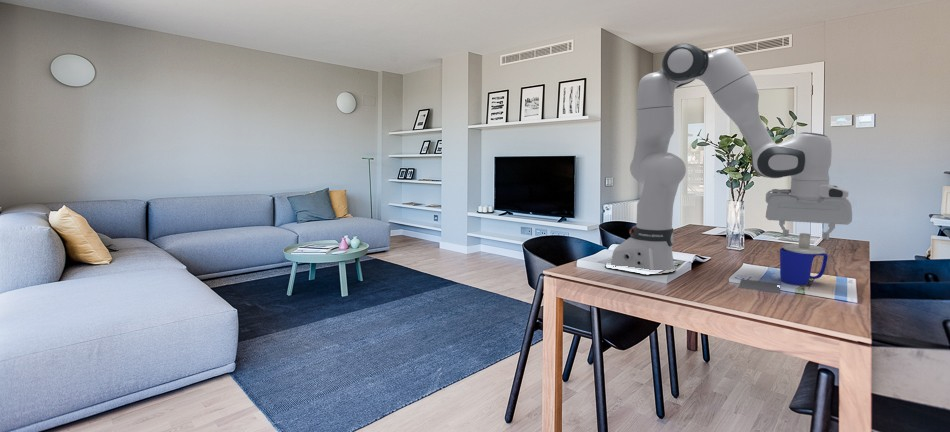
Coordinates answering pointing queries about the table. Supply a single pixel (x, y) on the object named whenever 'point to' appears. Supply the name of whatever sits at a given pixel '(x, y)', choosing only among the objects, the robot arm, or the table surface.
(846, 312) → the table surface
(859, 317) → the table surface
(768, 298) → the table surface
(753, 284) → the mat
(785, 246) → the lid
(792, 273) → the mug
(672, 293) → the table surface
